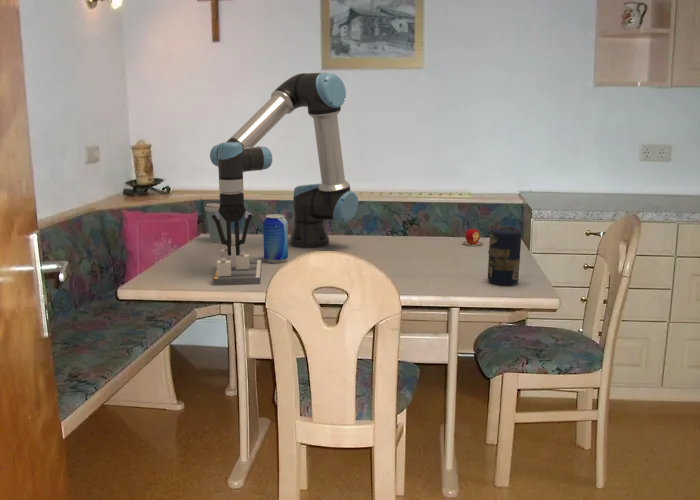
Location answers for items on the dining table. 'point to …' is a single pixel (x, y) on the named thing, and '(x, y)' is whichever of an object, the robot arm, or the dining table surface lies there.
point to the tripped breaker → (242, 261)
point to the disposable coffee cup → (212, 226)
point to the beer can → (275, 238)
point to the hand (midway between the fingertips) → (234, 265)
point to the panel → (236, 272)
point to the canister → (504, 255)
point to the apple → (472, 238)
